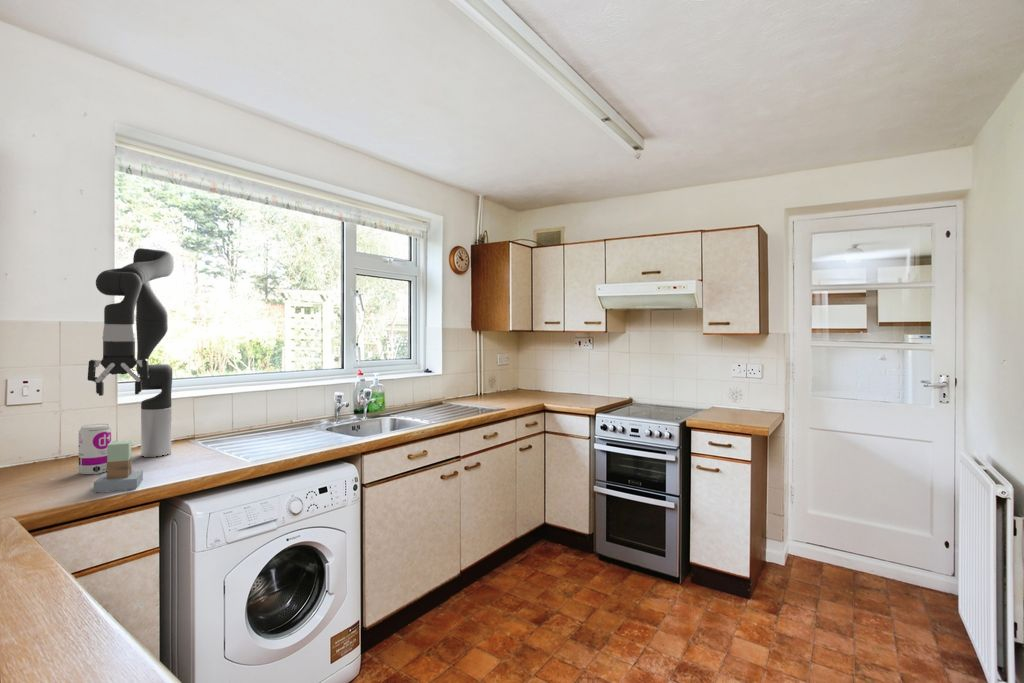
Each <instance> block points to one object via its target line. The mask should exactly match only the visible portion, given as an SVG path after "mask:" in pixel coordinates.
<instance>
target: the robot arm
mask: <svg viewBox="0 0 1024 683" xmlns="http://www.w3.org/2000/svg"><path fill="white" fill-rule="evenodd" d="M132 258H133V259H132V260H133V262H132V263H128V264H127V265H124V266H123V267H121V268H120V267H119V268H111V269H106V270H103V271H101V272H100V273H99V274H98V275H97V276H96V279H95V287H96V289H97V290H98V292H100V294H103V295H105V296H112V297H113V296H114V297H118V296H119V297H120V296H121V297H123V299H122V300H121V301H120V302H116V303H110V304H109V303H108V304H107V305H105V306H104V310H103V314H104V315H103V317H104V318H103V320H104V321H103V323H104V325H103V331H102V359H101V360H97V359H90V360H89V361H88V369H87V380H88V381H91V382H93V383H95V393H96V394H97V395H98V396H101V397H102V396H104V394H105V393H104V391H105V390H104V389H105V388H104V382H103V381H104V380H105V379H106V377H108V375H118V374H119V375H127V374H129V376H131V377H132V378H133V379H134V380H135V382H134V394H135V395H140V393H141V392H142V391H149V390H150V391H151V390H153V391H154V390H160V391H161V392H159V394H157V395H155V396H153V397H150V398H145V399H143V400H142V401H141V402H140V456H141V457H142V456H144V457H143V458H157V457H156V456H158V457H163V456H162V455H164V456H168V455H170V454H171V453H172V389H173V388H172V386H173V367H172V366H171V365H170V364H166V363H165V364H149V358H150V357H151V355H152V353H153V352H154V349H155V348H156V347H157V346H158V344H160V343H161V341H162V340H163V339H164V337H165V336H166V334H167V333H168V320H169V319H168V312H167V310H166V307H165V306H164V304H163V303H162V302H161V300H160V299H159V298H158V297H157V295H156V293H155V292H154V290H153V288H152V286H151V284H150V281H154V280H157V279H160V278H166V277H169V276H171V275H172V273H173V272H174V267H175V266H174V265H175V261H174V256H173V254H171V253H170V252H169V251H166V250H160V249H150V248H143V247H142V248H137V249H136V250H135V251H134V254H133V257H132ZM135 310H136V311H135ZM135 327H136V329H135ZM136 344H137V346H136ZM136 347H137V348H136ZM136 349H137V352H136ZM136 353H137V354H136ZM100 365H101V366H102V368H104V370H103V371H102V372H101V373H100V375H98V376H96V369H97V368H98V367H100ZM135 367H136V370H135V369H134V368H135ZM167 454H168V455H167Z"/></svg>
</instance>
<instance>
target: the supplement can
mask: <svg viewBox="0 0 1024 683" xmlns="http://www.w3.org/2000/svg"><path fill="white" fill-rule="evenodd" d="M110 442H112V428H111V426H110V424H108V423H93V424H92V423H91V424H86V425H82V426H80V428H79V430H78V473H80V474H81V475H83V474H94V475H98V474H97V473H100V474H103V473H102V472H104V473H107V472H106V471H107V445H108V444H109V443H110Z"/></svg>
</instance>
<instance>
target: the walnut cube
mask: <svg viewBox="0 0 1024 683" xmlns="http://www.w3.org/2000/svg"><path fill="white" fill-rule="evenodd" d="M131 471H132V457H131V458H130V459H129V460H127V461H116V462H107V472H106V473H107V479H116V478H127V477H129V475H130V474H131Z"/></svg>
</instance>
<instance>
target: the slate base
mask: <svg viewBox="0 0 1024 683" xmlns="http://www.w3.org/2000/svg"><path fill="white" fill-rule="evenodd" d="M143 480H144V470H142V469H141V470H140V469H139V470H131V474H130V475H129V477H127V478H116V479H107V472H104V473H101V475H99V477H98V478H97V479H95V481H94V482H93V494H97V493H96V492H101V493H106V492H105V491H111V492H116V491H115V490H121V491H126V490H125V489H130V490H137V489H138V488H139V486H140V485H141V483H142V481H143ZM137 487H138V488H137ZM136 488H137V489H136Z"/></svg>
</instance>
